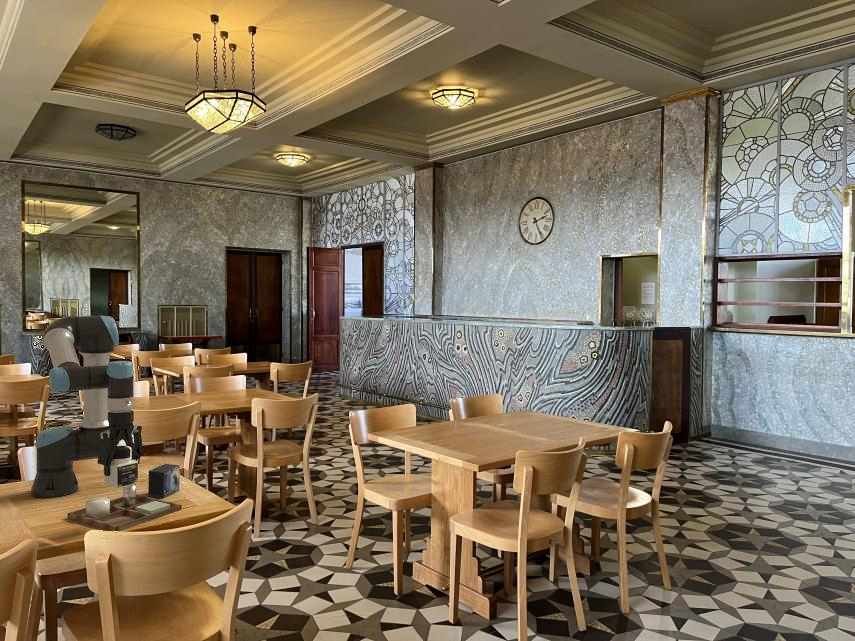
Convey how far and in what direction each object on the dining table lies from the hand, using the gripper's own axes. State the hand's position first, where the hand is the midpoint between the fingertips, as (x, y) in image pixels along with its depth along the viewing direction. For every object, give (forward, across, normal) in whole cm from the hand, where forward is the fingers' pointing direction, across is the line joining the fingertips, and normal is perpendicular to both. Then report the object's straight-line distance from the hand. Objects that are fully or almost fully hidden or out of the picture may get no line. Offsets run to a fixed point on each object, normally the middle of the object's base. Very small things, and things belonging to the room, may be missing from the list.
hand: (121, 482), depth 208 cm
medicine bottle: (+1, 0, 0) cm, 1 cm away
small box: (+14, +27, +13) cm, 33 cm away
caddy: (+14, +6, +6) cm, 16 cm away
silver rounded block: (+13, 0, +12) cm, 17 cm away
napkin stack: (+13, +12, 0) cm, 17 cm away
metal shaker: (+13, +12, +12) cm, 21 cm away
